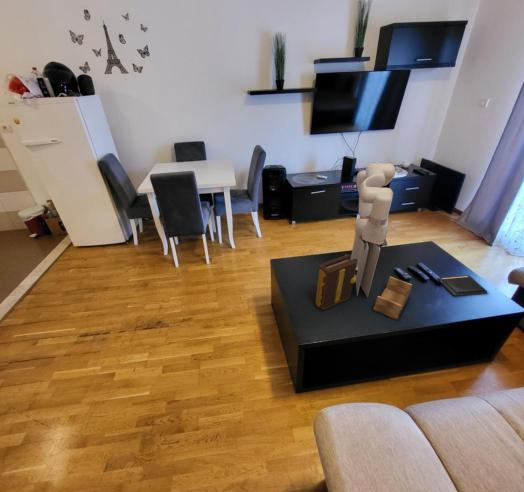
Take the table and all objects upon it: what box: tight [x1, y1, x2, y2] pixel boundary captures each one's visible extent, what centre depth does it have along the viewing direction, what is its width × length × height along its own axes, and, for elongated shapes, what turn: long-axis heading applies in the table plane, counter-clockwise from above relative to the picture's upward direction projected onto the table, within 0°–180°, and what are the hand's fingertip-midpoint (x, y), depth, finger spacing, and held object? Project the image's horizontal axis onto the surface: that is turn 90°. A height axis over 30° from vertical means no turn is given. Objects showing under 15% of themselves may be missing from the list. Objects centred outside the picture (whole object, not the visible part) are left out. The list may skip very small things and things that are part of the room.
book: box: [314, 253, 358, 311], centre depth 141 cm, size 22×8×25 cm, turn 117°
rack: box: [372, 276, 413, 321], centre depth 143 cm, size 12×20×9 cm, turn 142°
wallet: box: [436, 275, 488, 297], centre depth 155 cm, size 20×2×15 cm
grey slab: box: [355, 241, 381, 298], centre depth 144 cm, size 14×6×30 cm, turn 167°
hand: (370, 252), depth 139 cm, fingers closed on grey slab, 3 cm apart
